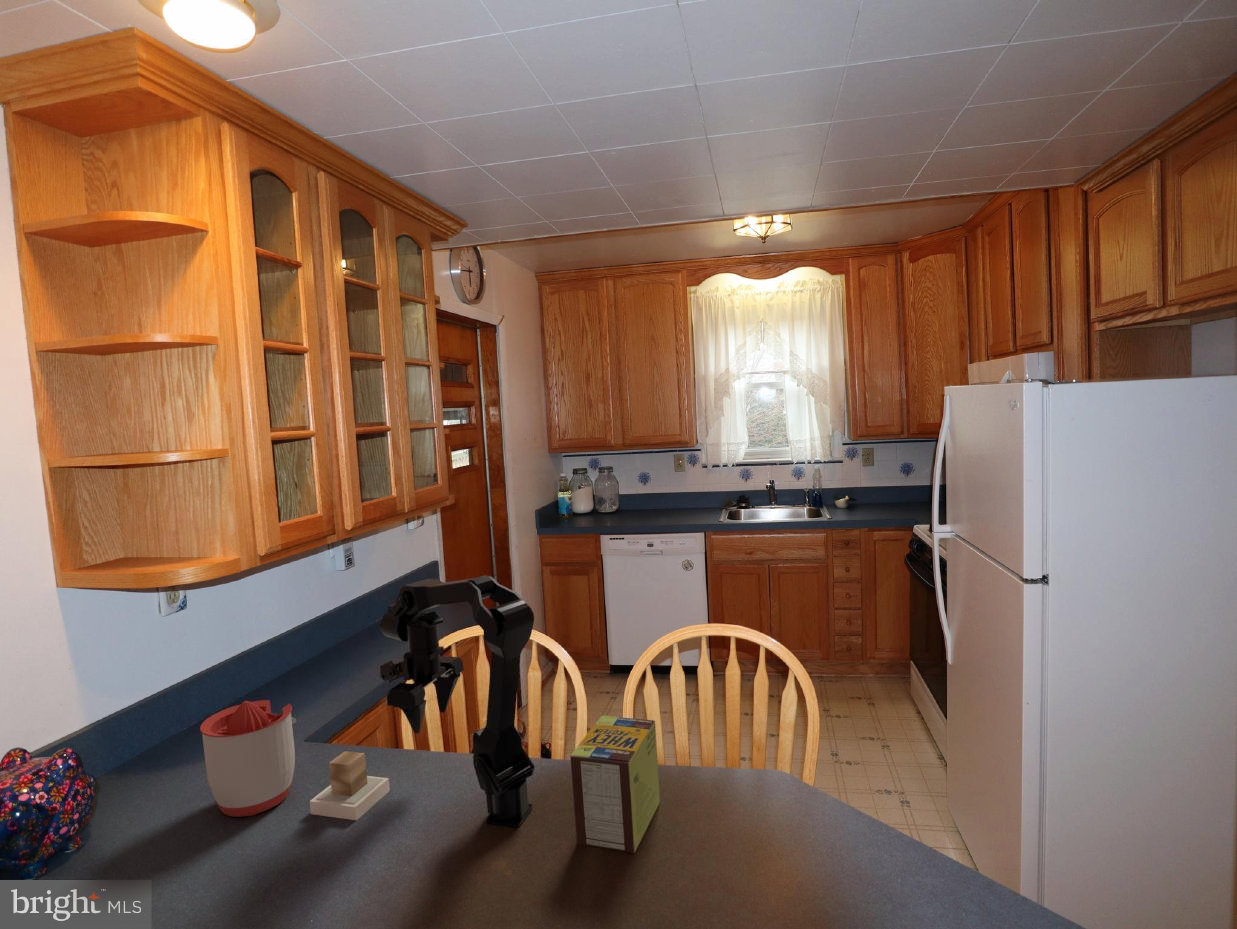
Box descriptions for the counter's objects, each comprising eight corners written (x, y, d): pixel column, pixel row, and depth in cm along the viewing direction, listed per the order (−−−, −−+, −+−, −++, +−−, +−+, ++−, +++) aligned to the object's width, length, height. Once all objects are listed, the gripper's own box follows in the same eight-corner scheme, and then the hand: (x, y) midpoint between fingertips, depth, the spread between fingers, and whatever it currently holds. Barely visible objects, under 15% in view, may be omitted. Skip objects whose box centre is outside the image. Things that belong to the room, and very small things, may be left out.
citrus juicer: (325, 783, 142) (315, 686, 140) (247, 832, 126) (236, 724, 124) (270, 770, 148) (260, 677, 147) (190, 815, 133) (178, 712, 131)
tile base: (389, 790, 137) (388, 777, 137) (356, 820, 128) (355, 806, 128) (346, 785, 140) (345, 772, 140) (310, 814, 131) (309, 800, 131)
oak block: (367, 783, 135) (364, 753, 135) (352, 796, 131) (349, 765, 131) (347, 780, 137) (345, 751, 136) (332, 793, 132) (328, 762, 132)
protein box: (660, 802, 128) (656, 719, 127) (635, 854, 114) (629, 762, 112) (606, 794, 132) (601, 714, 130) (574, 845, 117) (568, 754, 116)
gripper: (414, 628, 149) (421, 699, 150) (357, 660, 131) (365, 741, 133) (461, 630, 146) (467, 703, 147) (410, 663, 128) (417, 746, 129)
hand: (430, 722), depth 139 cm, fingers open, 9 cm apart
